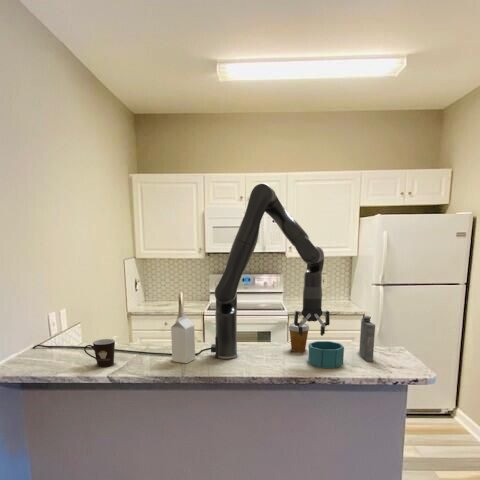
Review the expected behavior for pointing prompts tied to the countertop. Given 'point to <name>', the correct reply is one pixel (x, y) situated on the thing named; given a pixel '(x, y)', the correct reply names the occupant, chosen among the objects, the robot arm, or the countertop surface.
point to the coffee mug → (103, 352)
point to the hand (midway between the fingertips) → (311, 335)
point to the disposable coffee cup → (298, 337)
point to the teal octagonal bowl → (326, 354)
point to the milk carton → (183, 340)
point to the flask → (367, 339)
